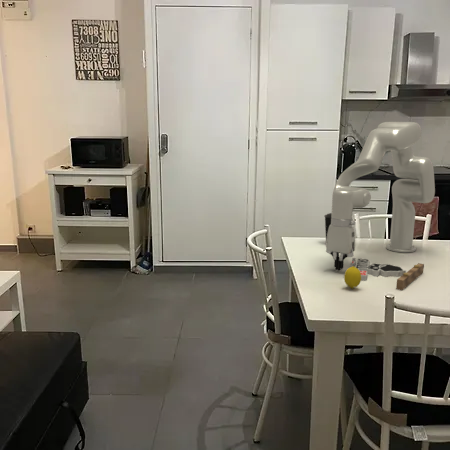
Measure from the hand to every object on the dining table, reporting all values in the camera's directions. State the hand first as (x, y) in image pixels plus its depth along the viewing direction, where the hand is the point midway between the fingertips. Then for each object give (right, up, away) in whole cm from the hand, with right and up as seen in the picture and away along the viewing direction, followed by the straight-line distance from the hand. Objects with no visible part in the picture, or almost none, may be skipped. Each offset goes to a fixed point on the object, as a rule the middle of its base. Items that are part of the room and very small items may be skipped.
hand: (338, 269), depth 174 cm
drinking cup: (+7, +8, +40) cm, 41 cm away
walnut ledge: (+24, -3, -9) cm, 25 cm away
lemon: (0, -5, -17) cm, 18 cm away
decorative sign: (+14, -2, -1) cm, 15 cm away
